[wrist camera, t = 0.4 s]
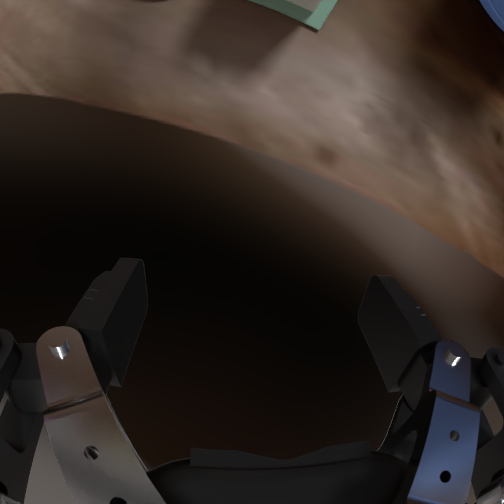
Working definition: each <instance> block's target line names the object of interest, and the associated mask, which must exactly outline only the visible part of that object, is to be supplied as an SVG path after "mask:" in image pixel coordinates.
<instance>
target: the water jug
mask: <svg viewBox="0 0 504 504" xmlns="http://www.w3.org/2000/svg"><path fill="white" fill-rule="evenodd" d="M479 1H480V2H481V4H482V6H483V7H484V9H485V10H486V12H487V13H488V15H489V16H490V17H491V19H492V20H493V21H494V22H495V23H496V24H497V25H498V27H499V28H500V29H501V30H503V31H504V0H479Z"/></svg>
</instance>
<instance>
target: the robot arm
mask: <svg viewBox="0 0 504 504" xmlns="http://www.w3.org/2000/svg"><path fill="white" fill-rule="evenodd" d="M147 306H148V296H147V288H146V280H145V271H144V263H143V261H142V260H141V259H129V258H120V260H119V261H118V262H117V264H116V265H115V267H114V268H113V270H112V271H105V272H104V273H102V274H101V275H100V276H98V277H97V278H95V280H94V281H93V282H92V284H91V286H90V287H89V290H87V291H86V293H85V294H84V296H83V298H82V299H81V300H80V302H79V303H78V305H77V307H76V308H75V310H74V311H73V313H72V314H71V316H70V318H69V319H68V321H67V322H66V324H65V326H61V327H56V328H53V329H50V330H49V331H47V332H45V333H44V334H43V335H42V336H41V337H40V339H39V340H38V342H37V343H23V344H16V342H15V340H14V338H13V336H12V334H11V333H10V332H9V331H7V330H4V329H0V402H1V399H2V398H3V395H5V396H6V397H7V401H6V404H5V406H4V409H3V411H2V414H1V416H0V504H24V498H25V493H26V488H27V483H28V478H29V474H30V470H31V466H32V462H33V457H34V453H35V450H36V447H37V443H38V440H39V436H40V433H41V430H42V426H43V423H44V422H45V425H46V429H47V431H48V435H49V438H50V442H51V445H52V448H53V451H54V453H55V456H56V459H57V462H58V464H59V467H60V470H61V472H62V475H63V477H64V479H65V482H66V484H67V486H68V489H69V491H70V493H71V495H72V497H73V500H74V502H75V504H467V503H466V499H467V495H468V491H469V487H470V482H472V485H473V489H474V492H475V496H476V500H477V502H475V503H474V504H504V423H503V427H502V429H501V431H500V432H499V433H498V434H497V435H496V436H494V434H493V432H492V430H491V427H490V425H489V423H488V420H487V418H486V416H485V414H484V412H483V410H482V409H483V408H484V406H485V405H486V404H487V403H488V402H489V401H490V400H491V399H492V398H494V400H495V402H496V404H497V406H498V408H499V410H500V412H501V414H502V416H503V420H504V351H502V350H500V349H498V348H490V349H488V350H487V352H486V353H485V355H484V356H483V358H482V359H479V358H471V357H470V356H469V354H468V352H467V351H466V350H465V348H464V347H462V346H461V345H460V344H458V343H456V342H454V341H451V340H443V339H442V338H441V336H440V335H439V333H438V332H437V330H436V329H435V327H434V326H433V325H432V323H431V322H430V320H429V319H428V317H427V316H425V313H424V312H423V310H422V309H421V308H420V306H419V305H418V303H417V302H416V301H415V299H414V298H413V297H412V296H411V295H410V294H408V293H407V292H406V291H405V290H403V289H402V287H401V286H400V285H399V283H398V282H397V281H396V279H395V278H394V277H393V276H384V275H373V276H372V277H371V279H370V281H369V283H368V286H367V289H366V292H365V295H364V298H363V300H362V303H361V305H360V308H359V313H358V322H359V325H360V327H361V330H362V332H363V334H364V336H365V339H366V341H367V343H368V345H369V347H370V350H371V352H372V354H373V356H374V359H375V361H376V363H377V366H378V368H379V370H380V372H381V375H382V377H383V379H384V382H385V384H386V387H387V389H388V392H395V391H400V390H402V392H403V395H402V396H401V398H400V399H399V402H398V405H397V408H396V410H395V413H394V416H393V419H392V422H391V424H390V427H389V430H388V432H387V435H386V437H385V440H384V442H383V443H382V445H381V446H380V448H379V449H378V451H371V450H370V447H369V443H368V441H367V440H366V441H361V442H355V443H350V444H342V445H336V446H329V447H326V448H324V449H321V450H318V451H315V452H312V453H309V454H306V455H303V456H300V457H297V458H294V459H290V460H280V459H274V458H269V457H264V456H258V455H253V454H249V453H245V452H240V451H229V450H211V449H198V448H191V458H186V459H180V460H176V461H172V462H168V463H165V464H163V465H160V466H158V467H156V468H153V469H152V470H150V471H148V470H147V469H146V468H145V466H144V464H143V463H142V461H141V459H140V458H139V456H138V454H137V453H136V451H135V450H134V448H133V446H132V445H131V443H130V441H129V439H128V437H127V436H126V434H125V432H124V430H123V428H122V426H121V424H120V422H119V420H118V418H117V417H116V415H115V412H114V410H113V408H112V407H111V404H110V402H109V400H108V398H107V396H106V393H107V390H108V387H109V385H113V386H117V387H121V385H122V382H123V379H124V376H125V373H126V369H127V367H128V364H129V361H130V357H131V355H132V352H133V349H134V346H135V343H136V340H137V338H138V335H139V332H140V329H141V327H142V324H143V321H144V318H145V315H146V312H147Z"/></svg>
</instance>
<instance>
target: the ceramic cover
mask: <svg viewBox="0 0 504 504" xmlns="http://www.w3.org/2000/svg"><path fill="white" fill-rule="evenodd" d="M287 1H289V2H291V3H294V4H296V5H298V6H300V7H303V8H305V9H307V10H309V11H311V12H313V13H314V11H315V10H316V8H317V7H318V5H319V4H320V3H321V1H322V0H287Z"/></svg>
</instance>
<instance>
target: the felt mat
mask: <svg viewBox="0 0 504 504" xmlns="http://www.w3.org/2000/svg"><path fill="white" fill-rule="evenodd" d="M248 1H251V2H254V3H257V4H260V5H262V6H265V7H267V8H270V9H273V10H275V11H277V12H280V13H282V14H285V15H287V16H289V17H291V18H294V19H296V20H298V21H300V22H302V23H304V24H306V25H309V26H311V27H313V28H315V29H317V30H318V31H319V30H320V28H321V26H322V25H323V23H324V21H325V20H326V18H327V16H328V15H329V13H330V12H331V10H332V8H333V7H334V5H335V3H336V2H337V0H322V1H321V3H320V4H319V5H318V7H317V8H316V10H315V11H314V13H313V12H311V11H309V10H307V9H305V8H303V7H300V6H298V5H296V4H294V3H291V2H289V1H287V0H248Z"/></svg>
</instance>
